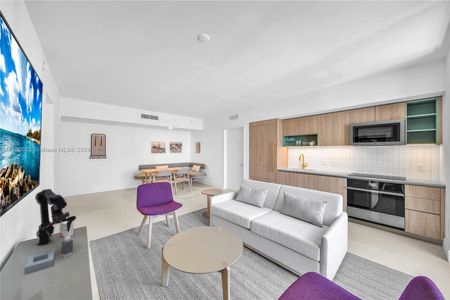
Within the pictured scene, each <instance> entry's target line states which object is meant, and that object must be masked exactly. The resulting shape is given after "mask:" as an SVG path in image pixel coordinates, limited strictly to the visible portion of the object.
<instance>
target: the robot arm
mask: <svg viewBox="0 0 450 300" xmlns="http://www.w3.org/2000/svg"><path fill="white" fill-rule="evenodd" d="M34 198H35V199H34V200H35V201H36V203H37V205H39V211H40V224H39V225H38V230H37V232H36V233H35V235H36V237H37V238H38V243H36V244H35V245H36V246H42V245H48V244H49V243H51V242H52V240H53V239H51V238H52V234H54V231H55V226H54V225H58V224H60V223H62V222H66V221H67V223H66V224H67V231H68V232H69V230H70V226H71V223H72V222H73V221H74V222H75V220H76V219H77V216H76V215H72V216H70V212H69V211H67V212H63V209H65V208H66V206H68V203H67V201H66V199H65V198H64V197H63V196H62V195H61V194H56V193H55V192H54V191H53V190H52V188H47V189H42V190H41V191H39V192H37V193H36V194H35V197H34ZM49 206H50V211H49ZM49 212H50V213H51V221H50V213H49ZM66 217H67V219H66Z"/></svg>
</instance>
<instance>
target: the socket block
mask: <svg viewBox="0 0 450 300" xmlns="http://www.w3.org/2000/svg"><path fill="white" fill-rule="evenodd" d="M54 259H55V250H54V249H52V250H48V251H45V252H40V253H38V254H33V255H29V256H27V260H26V262H25V266H24V275H27V274H30V273H34V272H37V271H40V270H43V269H47V268H50V267H54Z"/></svg>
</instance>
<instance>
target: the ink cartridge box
mask: <svg viewBox="0 0 450 300" xmlns="http://www.w3.org/2000/svg"><path fill="white" fill-rule="evenodd" d="M67 218H68V217H66V219H67ZM66 223H67V221H66V222H62V223H59V229H58V230H59V234H58V236H59V237H61V236H63V237H64V238H65V237H67V236H70V237H71V236H73V235H74V226H75V224H74V223H75V220H74V221H73V222H72V223H71V226H70V230H69V232H68V231H67V224H66ZM63 237H62V238H63Z"/></svg>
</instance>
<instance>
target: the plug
mask: <svg viewBox="0 0 450 300" xmlns="http://www.w3.org/2000/svg"><path fill="white" fill-rule="evenodd" d="M73 246H74V240H72V239H71V236H67V237H64V240H63V241H61V250H60V252H61V253H60V254H61V255H60V256H62V257H63V258H66V257H68V256H70V255H71V256H72V255H73V251H74V250H73V248H74V247H73Z"/></svg>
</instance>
